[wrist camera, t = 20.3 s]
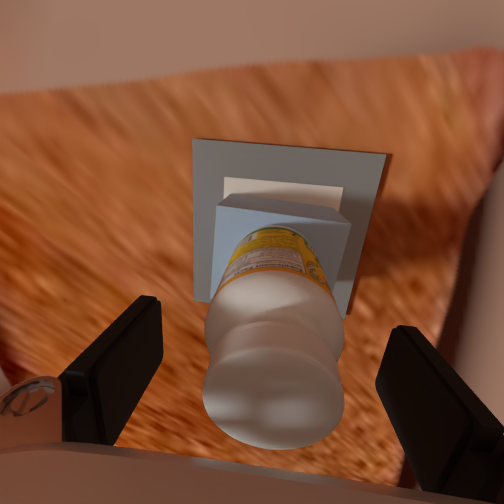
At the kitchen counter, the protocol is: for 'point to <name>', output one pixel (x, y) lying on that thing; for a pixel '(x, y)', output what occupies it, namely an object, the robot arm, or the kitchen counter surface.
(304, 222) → the light blue block
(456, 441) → the robot arm
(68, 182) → the kitchen counter surface
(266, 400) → the supplement bottle
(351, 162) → the base plate
